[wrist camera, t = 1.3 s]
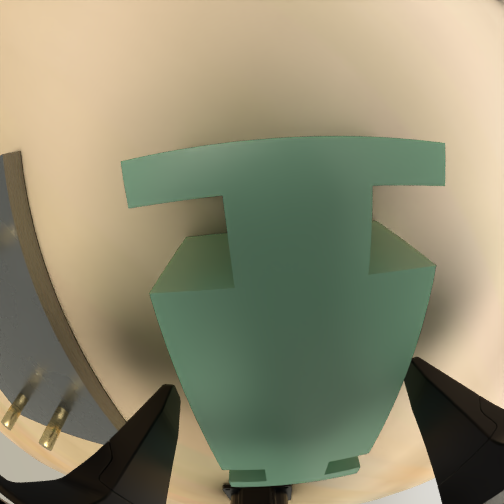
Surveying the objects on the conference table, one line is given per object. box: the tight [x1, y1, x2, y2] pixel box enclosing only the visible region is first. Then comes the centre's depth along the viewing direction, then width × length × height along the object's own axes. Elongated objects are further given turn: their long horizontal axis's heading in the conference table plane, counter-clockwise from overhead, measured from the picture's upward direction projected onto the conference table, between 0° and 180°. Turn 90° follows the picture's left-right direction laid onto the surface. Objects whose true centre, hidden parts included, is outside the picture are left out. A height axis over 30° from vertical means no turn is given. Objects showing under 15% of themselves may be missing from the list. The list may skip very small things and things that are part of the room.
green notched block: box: [121, 136, 445, 487], centre depth 10 cm, size 16×7×4 cm, turn 5°
